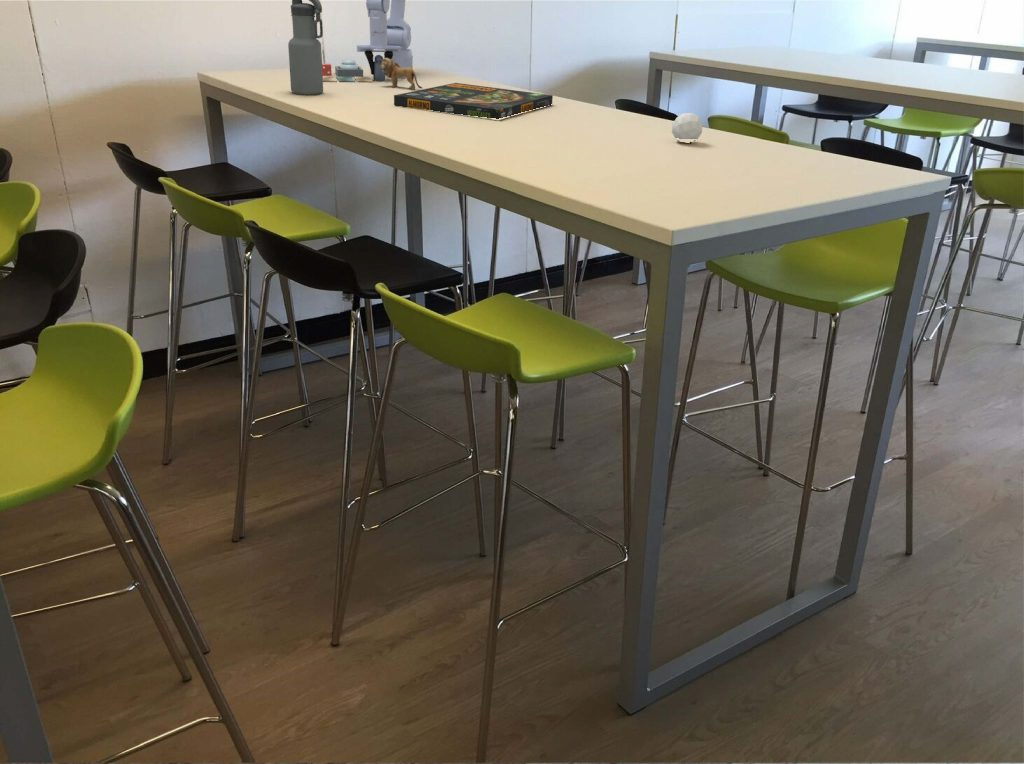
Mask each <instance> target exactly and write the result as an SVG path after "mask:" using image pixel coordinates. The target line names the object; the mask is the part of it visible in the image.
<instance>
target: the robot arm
mask: <svg viewBox="0 0 1024 764" xmlns="http://www.w3.org/2000/svg"><path fill="white" fill-rule="evenodd" d="M365 4H366V10H367V15H368V18H369V44H367V45H366V44H365V45H361V44H357V45H356V52H357V53H363V52H364V55H365V57H366V59H367V62H368V65H369V69H370V74H371V76H373V75H374V67H373V62H374V57H375V56H374V53H383V59H384V58H389V59H391V60H393V61H394V62H396V63H397V64H398V65H399V66H400V67H401V68H408V67H410V68H412V69H413V64H414V63H413V51H412V49H411V48H409V47H410V45H411V42H412V35H411V34H412V32H411V26H410V25H409V23H408V22H407V21H406V20H405V18H404V17H405V10H406V8H405V7H406V0H366V1H365ZM389 10H390V13H389V18H388V17H387V15H388V12H389ZM387 18H388V19H387ZM413 70H414V69H413ZM385 76H387V75H386V74H385Z"/></svg>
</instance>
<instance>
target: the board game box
mask: <svg viewBox="0 0 1024 764" xmlns="http://www.w3.org/2000/svg"><path fill="white" fill-rule="evenodd" d="M553 100H554V99H553V95H552V94H548V93H547V94H546V93H539V92H538V93H537V92H529V91H523V90H514V89H508V88H507V89H506V88H501V87H500V88H499V87H491V86H485V85H484V86H483V85H474V84H468V83H460V82H453V83H447V84H443V85H439V86H434V87H433V86H432V87H428V88H422V89H418V90H412V91H409V92H403V93H398V94H394V95H393V106H394V105H395V107H399V106H402V107H401V108H406V107H410V108H409V109H413V108H418V109H417V110H420V109H426V110H425V111H427V110H433V111H432V112H434V111H440V112H439V113H441V112H447V113H454V114H463V115H470V116H478V117H487V118H496V119H499V118H503V117H507V116H511V115H514V114H518V113H521V112H525V111H529V110H533V109H536V108H540V107H544V106H548V105H551V104H552V105H553ZM548 107H549V106H548ZM447 113H446V114H447ZM454 114H453V115H454Z"/></svg>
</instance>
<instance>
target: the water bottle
mask: <svg viewBox="0 0 1024 764" xmlns="http://www.w3.org/2000/svg"><path fill="white" fill-rule="evenodd" d="M308 1H309V2H310V3H308V2H307V3H306V2H303V0H291V5H290V14H291V15H290V16H291V20H292V36H293V37H292V38H291V39H289V41H288V44H287V45H288V47H287V48H288V62H289V63H288V64H289V77H290V80H289V81H290V90H291V92H292V93H293V94H295V95H301V96H315V95H316V96H317V95H320V94H323V92H324V82H323V76H324V75H323V74H322V64H323V56H322V44H321V41H320V40H319V39H320V38H321V39H322V38H323V35H324V31H323V30H324V29H323V20H322V19H321V13H322V12H323V8H322V4H321V2H320V0H308ZM318 23H319V31H320V32H319V35H318Z"/></svg>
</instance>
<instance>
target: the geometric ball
mask: <svg viewBox="0 0 1024 764" xmlns="http://www.w3.org/2000/svg"><path fill="white" fill-rule="evenodd" d="M671 125H672V126H671V134H672V135H673V136H674V139H675V138H679V139H697V140H698V139H699V137H701V135H702V133H703V122H702V121H701V118H700V117H699V116H698V115H697V114H695V113H694V112H683V113H681V114H679V116H677V117H676V118H675V120H673V123H672V124H671Z"/></svg>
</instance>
